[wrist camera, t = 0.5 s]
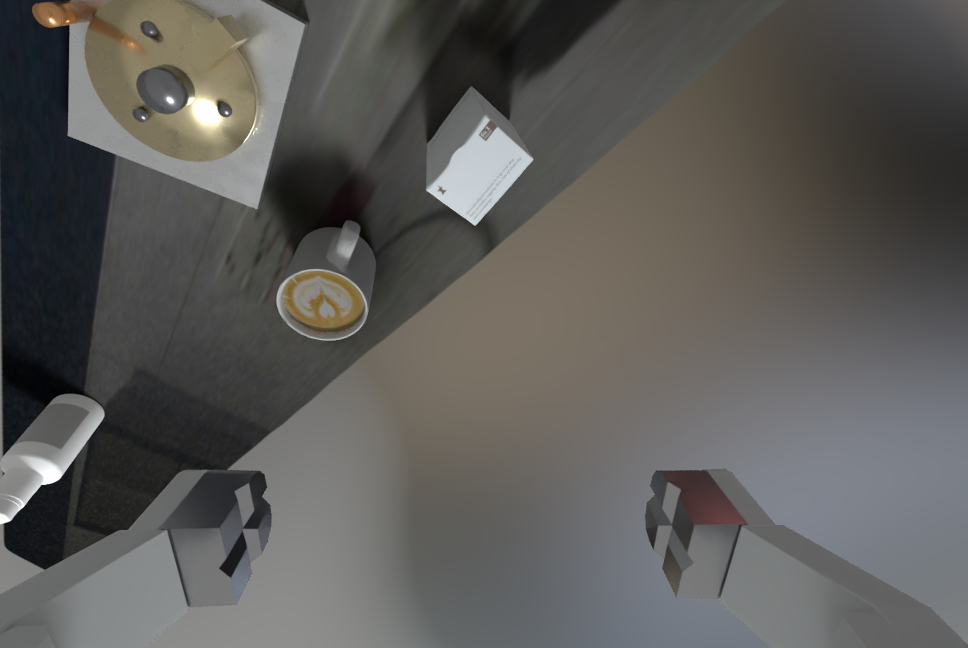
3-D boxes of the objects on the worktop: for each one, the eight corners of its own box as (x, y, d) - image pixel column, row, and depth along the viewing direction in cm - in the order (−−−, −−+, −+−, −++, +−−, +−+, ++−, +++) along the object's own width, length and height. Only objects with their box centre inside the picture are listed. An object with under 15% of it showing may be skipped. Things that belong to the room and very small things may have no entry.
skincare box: (464, 175, 55) (474, 233, 43) (423, 142, 52) (422, 193, 40) (512, 118, 51) (538, 162, 39) (471, 78, 48) (485, 114, 37)
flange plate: (194, 182, 50) (174, 201, 46) (59, 57, 42) (21, 67, 38) (303, 95, 46) (291, 107, 42) (176, -61, 38) (147, -65, 34)
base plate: (86, -100, 38) (27, -111, 32) (309, 22, 44) (292, 30, 39) (79, 130, 48) (34, 151, 42) (262, 202, 54) (243, 228, 49)
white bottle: (78, 386, 68) (-14, 496, 54) (116, 414, 72) (40, 523, 58) (41, 401, 69) (-58, 512, 55) (81, 427, 73) (-3, 537, 59)
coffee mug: (351, 305, 64) (340, 353, 56) (282, 269, 60) (260, 315, 52) (405, 235, 59) (402, 277, 51) (334, 189, 54) (318, 227, 46)
